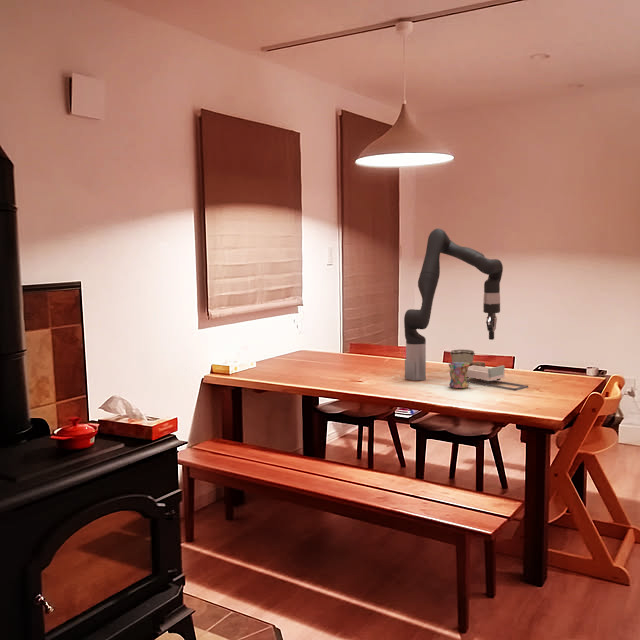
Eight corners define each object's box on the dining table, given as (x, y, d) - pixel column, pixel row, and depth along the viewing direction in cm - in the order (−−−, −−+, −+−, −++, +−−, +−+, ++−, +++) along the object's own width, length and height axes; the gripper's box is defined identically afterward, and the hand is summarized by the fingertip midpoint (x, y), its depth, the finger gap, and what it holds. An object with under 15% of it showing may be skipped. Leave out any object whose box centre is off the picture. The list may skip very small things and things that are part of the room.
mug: (455, 384, 293) (455, 361, 291) (473, 386, 286) (473, 363, 285) (440, 388, 284) (440, 364, 283) (459, 391, 278) (459, 367, 276)
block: (479, 375, 312) (479, 363, 311) (471, 374, 315) (471, 362, 314) (485, 374, 314) (485, 362, 314) (477, 373, 318) (477, 361, 317)
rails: (515, 390, 277) (515, 388, 277) (455, 380, 302) (455, 378, 302) (528, 387, 284) (528, 385, 284) (468, 377, 308) (468, 375, 308)
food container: (473, 368, 331) (473, 349, 330) (474, 370, 325) (474, 351, 324) (448, 368, 332) (448, 349, 331) (450, 370, 326) (450, 351, 325)
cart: (490, 384, 286) (490, 368, 286) (459, 378, 299) (459, 364, 299) (504, 380, 294) (504, 365, 293) (473, 375, 306) (473, 361, 306)
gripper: (486, 301, 305) (486, 337, 307) (480, 303, 293) (480, 341, 295) (502, 301, 301) (502, 337, 303) (497, 303, 290) (496, 341, 291)
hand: (491, 339), depth 299 cm, fingers closed
